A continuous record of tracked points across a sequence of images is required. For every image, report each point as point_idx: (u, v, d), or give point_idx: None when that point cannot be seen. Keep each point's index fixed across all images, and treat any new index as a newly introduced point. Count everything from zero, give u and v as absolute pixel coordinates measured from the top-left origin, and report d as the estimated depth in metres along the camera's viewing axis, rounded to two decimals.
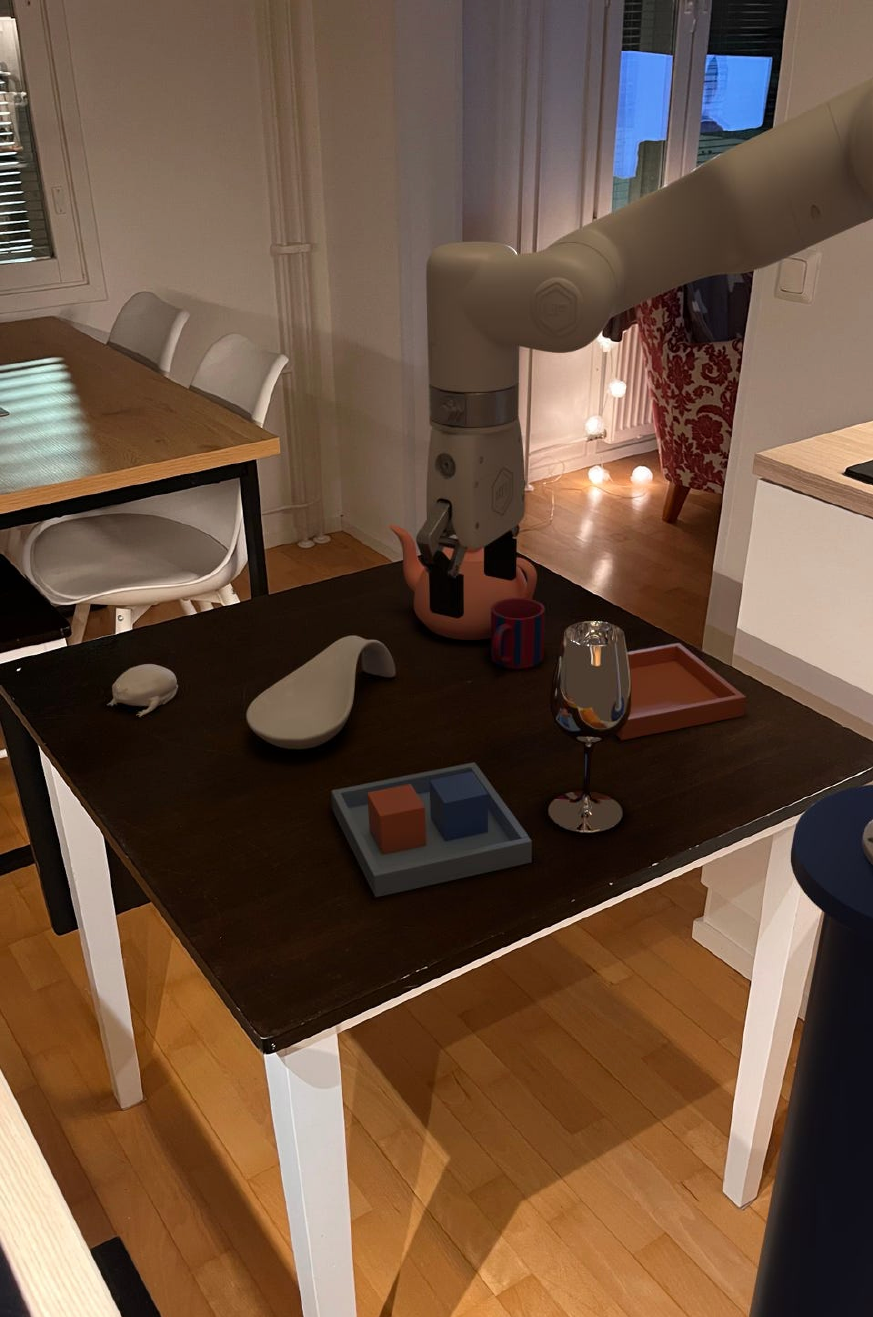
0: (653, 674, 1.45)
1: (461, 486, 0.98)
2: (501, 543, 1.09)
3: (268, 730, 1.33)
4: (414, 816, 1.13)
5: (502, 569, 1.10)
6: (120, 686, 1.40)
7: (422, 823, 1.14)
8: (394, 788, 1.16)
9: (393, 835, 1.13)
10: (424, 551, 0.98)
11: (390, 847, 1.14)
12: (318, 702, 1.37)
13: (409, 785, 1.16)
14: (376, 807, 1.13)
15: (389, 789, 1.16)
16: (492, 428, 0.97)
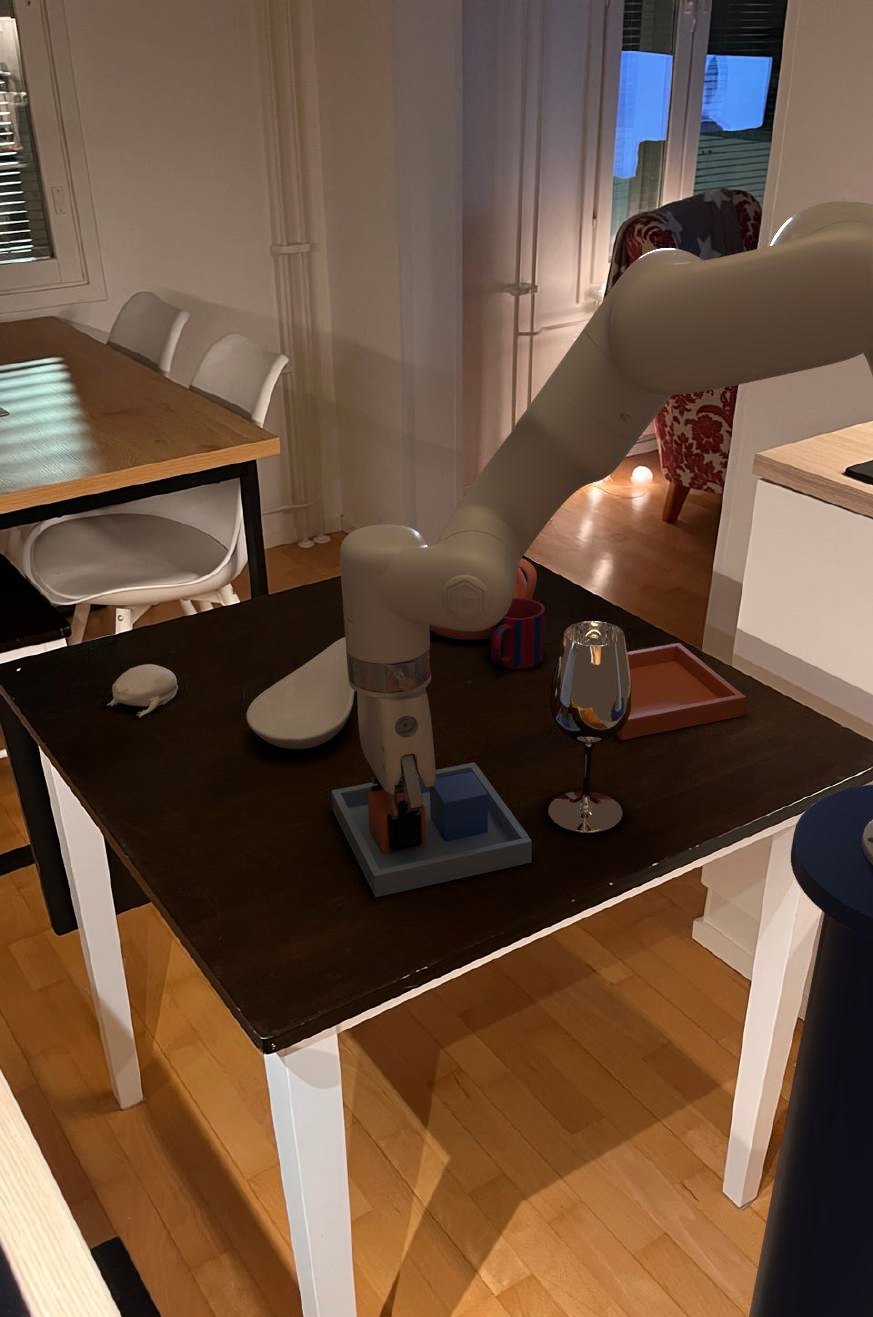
0: (653, 674, 1.45)
1: (424, 738, 1.06)
2: None
3: (269, 730, 1.33)
4: None
5: None
6: (120, 687, 1.40)
7: (422, 823, 1.14)
8: None
9: None
10: (413, 810, 1.08)
11: None
12: (318, 702, 1.37)
13: None
14: (376, 807, 1.13)
15: None
16: (428, 680, 1.06)
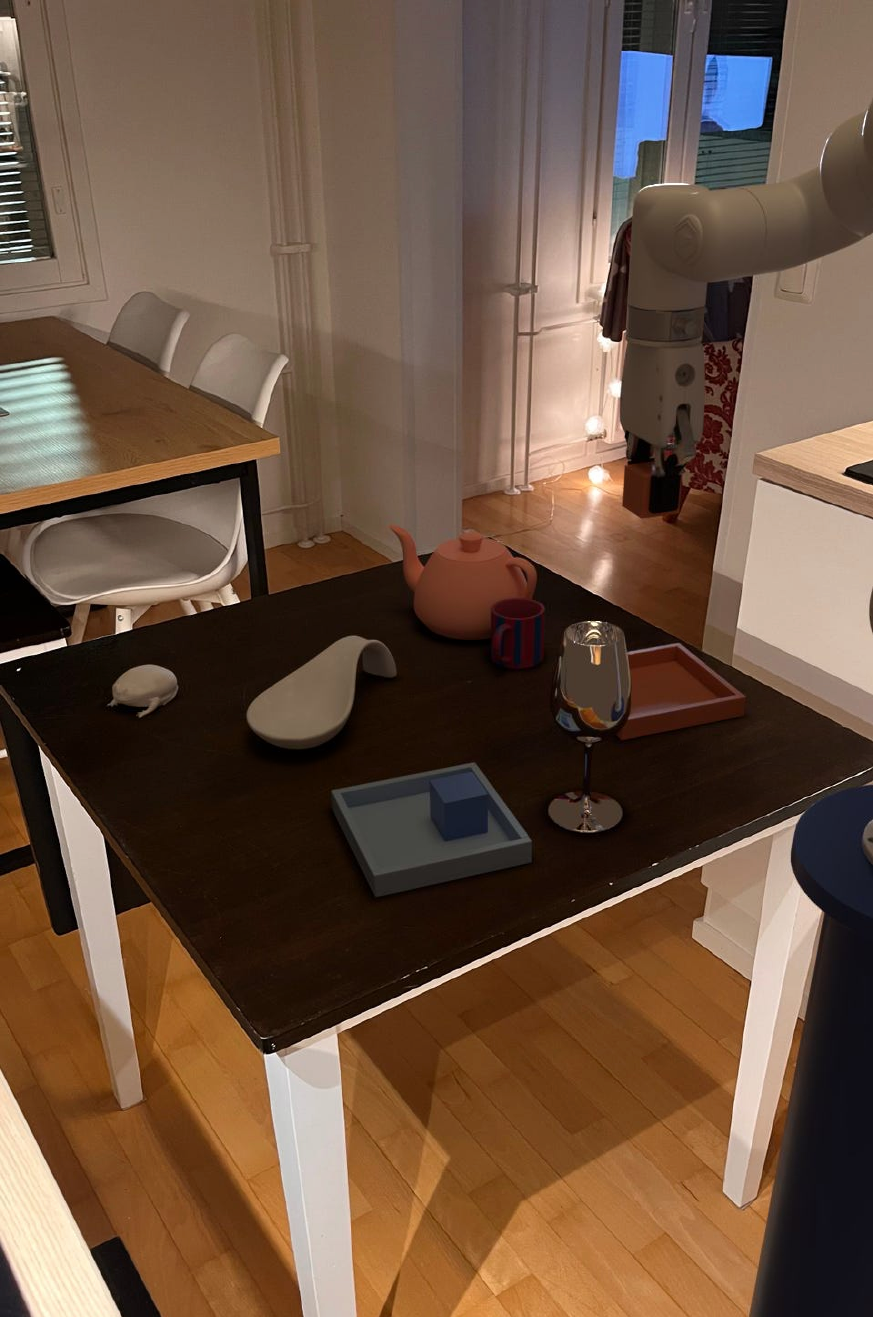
0: (653, 674, 1.45)
1: (699, 388, 1.16)
2: None
3: (269, 730, 1.33)
4: None
5: None
6: (120, 687, 1.40)
7: None
8: (648, 462, 1.26)
9: None
10: (684, 460, 1.18)
11: (649, 511, 1.24)
12: (318, 703, 1.37)
13: None
14: (638, 472, 1.23)
15: (644, 463, 1.26)
16: (701, 336, 1.16)
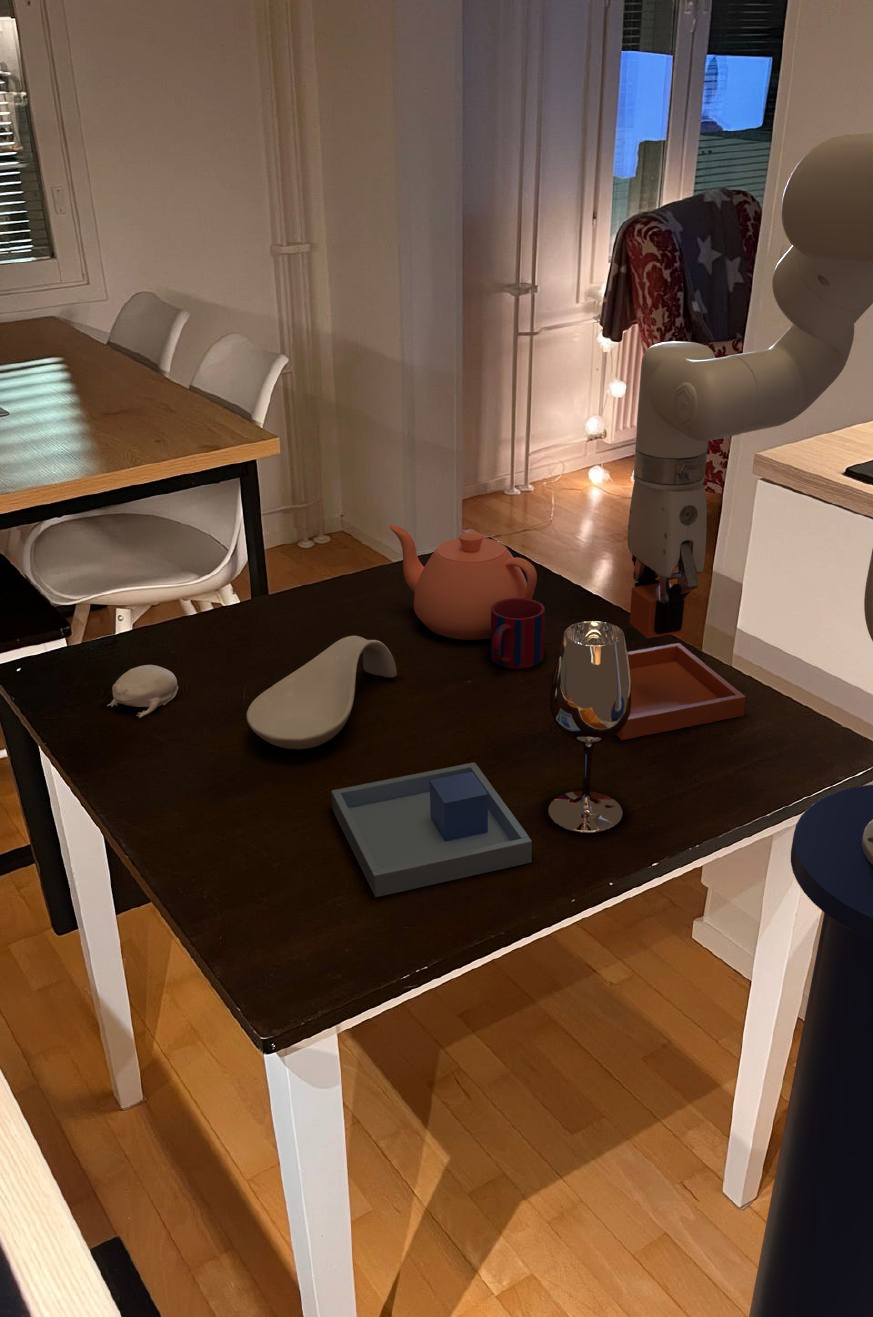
0: (653, 674, 1.45)
1: (701, 526, 1.26)
2: None
3: (269, 730, 1.33)
4: None
5: None
6: (120, 687, 1.40)
7: None
8: (654, 584, 1.36)
9: None
10: (687, 591, 1.28)
11: None
12: (318, 703, 1.37)
13: None
14: (644, 596, 1.33)
15: (650, 585, 1.36)
16: None
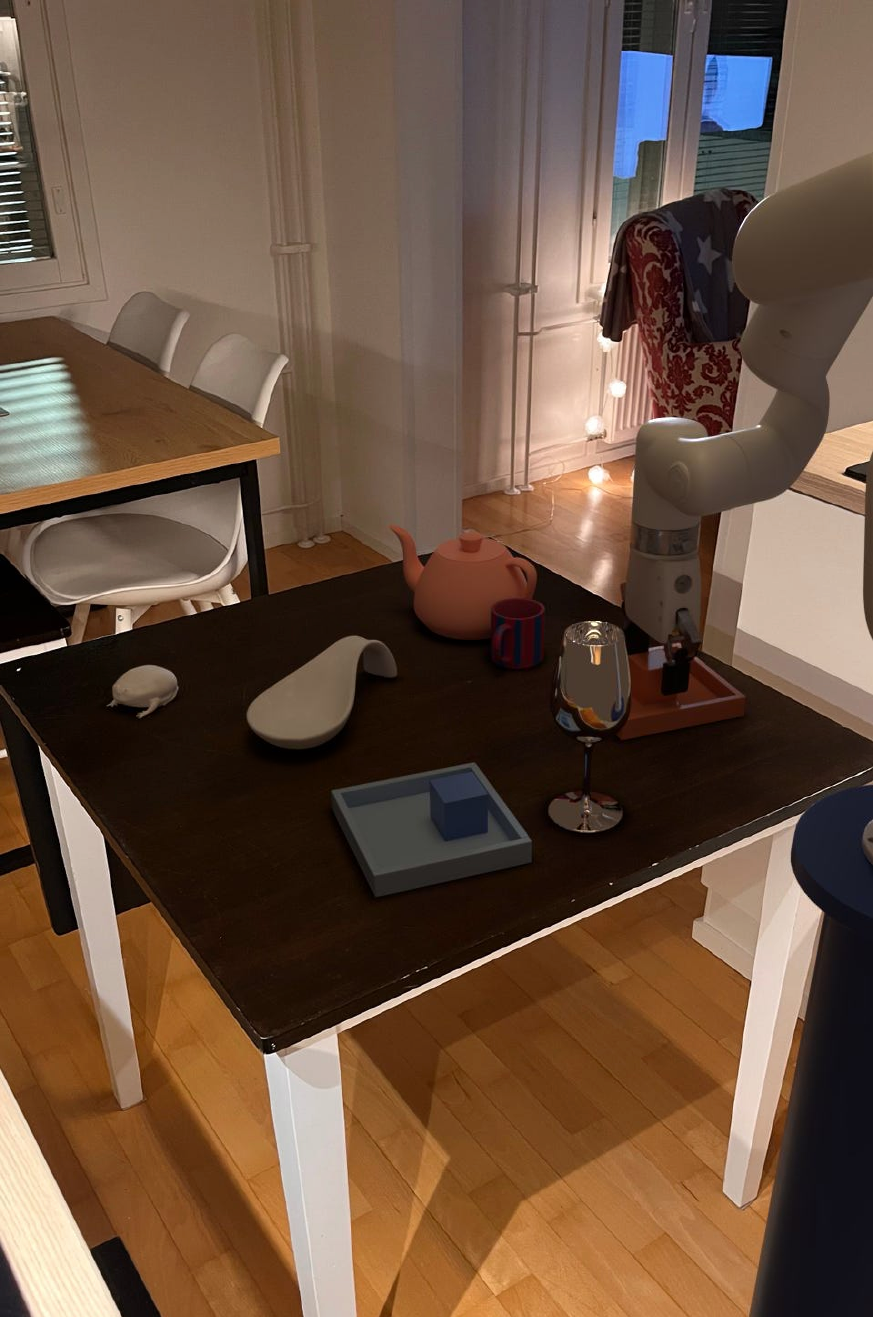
0: None
1: (695, 594, 1.30)
2: (641, 632, 1.41)
3: (269, 730, 1.33)
4: None
5: (640, 651, 1.42)
6: (120, 687, 1.40)
7: None
8: (649, 652, 1.40)
9: (653, 689, 1.38)
10: (693, 649, 1.29)
11: (649, 699, 1.38)
12: (318, 703, 1.37)
13: (660, 650, 1.41)
14: (639, 665, 1.37)
15: (645, 653, 1.40)
16: None
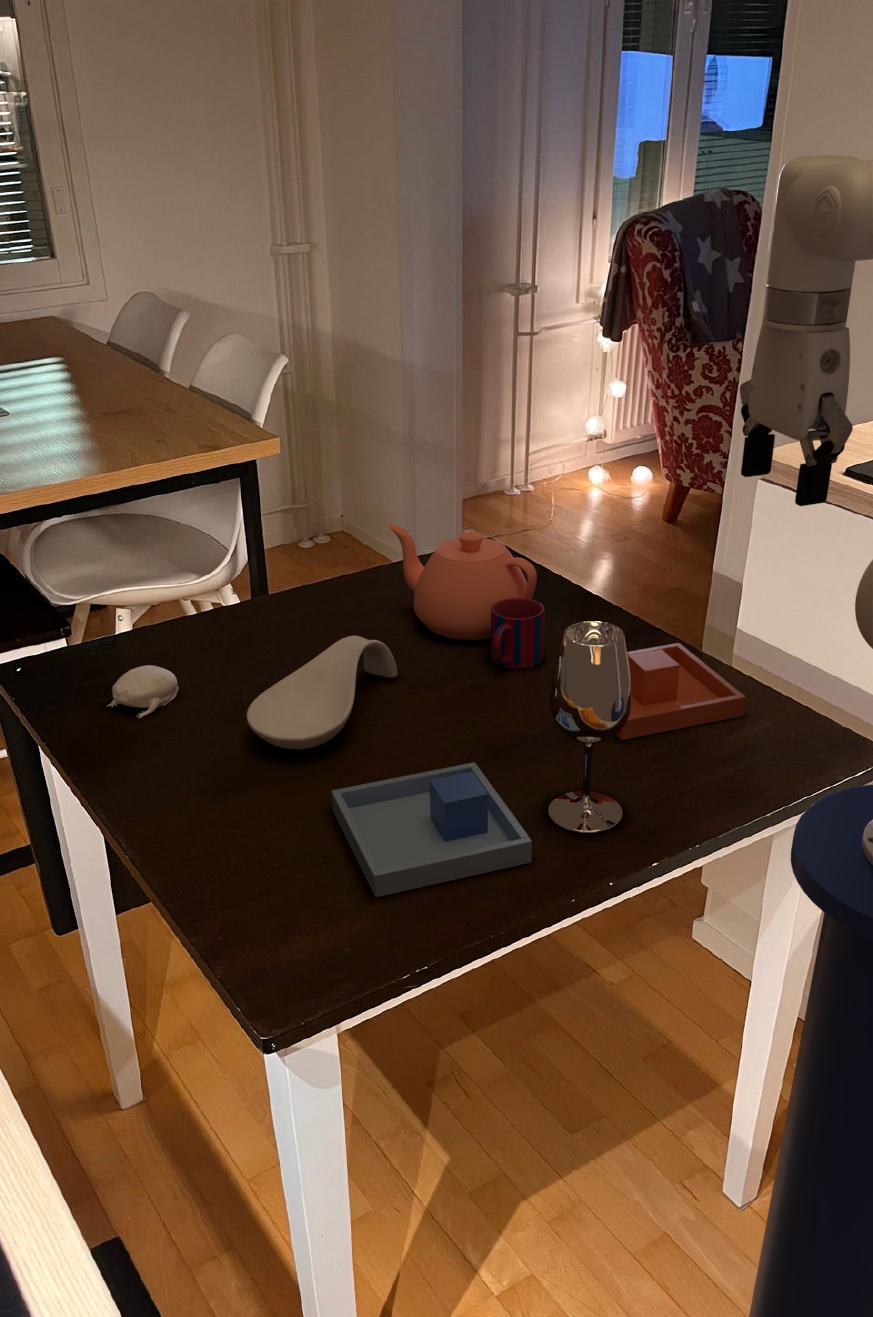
0: None
1: (843, 376, 1.08)
2: (764, 441, 1.20)
3: (269, 730, 1.33)
4: (670, 672, 1.37)
5: (762, 465, 1.21)
6: (120, 688, 1.40)
7: (676, 679, 1.38)
8: (649, 652, 1.40)
9: (653, 689, 1.38)
10: (841, 440, 1.08)
11: (649, 699, 1.38)
12: (319, 703, 1.37)
13: (660, 650, 1.41)
14: (639, 665, 1.37)
15: (645, 653, 1.40)
16: (846, 320, 1.09)
